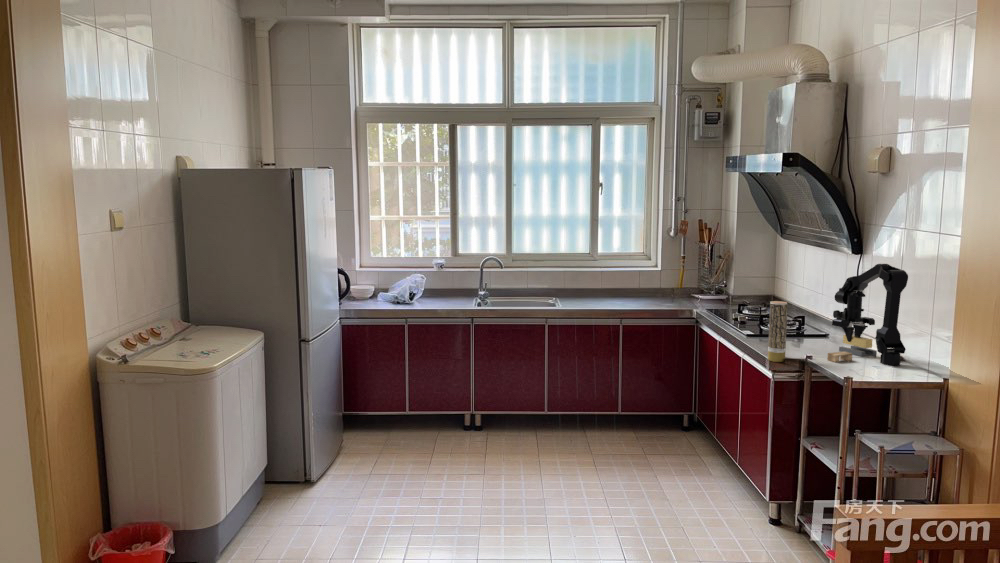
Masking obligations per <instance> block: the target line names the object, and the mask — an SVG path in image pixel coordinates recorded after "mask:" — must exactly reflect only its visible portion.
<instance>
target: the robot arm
mask: <svg viewBox="0 0 1000 563" xmlns="http://www.w3.org/2000/svg"><path fill="white" fill-rule="evenodd" d="M878 278H879V279H881V280H882V284H883V287H884V289H885V291H886V296H885V303H884V313H883V322H882V326H881V327H880V328H877V329H876V331H875V344H876V351H877V352H878V353H879V354H880V358H879V363H880V364H882V365H884V366H889V367H891V366H892V367H900V364H901V354H905V353H906V347H905V346H904V343H903V342H902V340H901V333H900V331H899V330H898V323H899V322H898V320H899V313H900V312H899V311H900V304H901V303H900V302H901V296H902V295H901V294H902V292H903V291H904V290H905V289H906V287H907V284H908V281H909V275H908V273H907V272H906V271H905V270H904V269H900V268H898V267H895V266H892V265H891V264H888V263H876V264H875V265H874V266H873V267H871V268H869V269H868V270H866V271H864V272H863V273H860V274H859V275H855V276H849V277H847V278H846V280H845V282H844V284H843V285H842V287H840V288H838V291H837V292H835V295H834V301H835V302H836V303H838V304H844V305H846V307H844V309H843V311H840V310H838V309H837V310H833V311H832V312H833V314H832V317H833V320H831V321H832V322H831V325H832V326H833V327H834V326H835V327H840V328H841V329H842V330H843V331H844V335H846V337H847V340H848V342H850V341H851V339H852V335H854V336H859V337H862V335H863V333H864V332H865V330H866V329H867V328H868V325H869V326H874V325H876V320H875V318H873V317H867V316H862V312H865V309H864V308H862V307H863V306H862V305H863V298H866V294H865V293H864V292H863V291H864V290H865V289H867V288H868V286H869V283H871V282H873V281H875V280H877V279H878ZM866 324H868V325H866Z"/></svg>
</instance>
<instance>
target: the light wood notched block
mask: <svg viewBox="0 0 1000 563" xmlns="http://www.w3.org/2000/svg"><path fill="white" fill-rule="evenodd" d="M826 358H827V359H826V360H827V362H830V363H831V362H832V363H836V364H837V363H840V361H844V362H845V361H846V362H852V361H853V355H852V353H848V352H840V351H837V352H827V357H826Z"/></svg>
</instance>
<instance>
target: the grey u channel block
mask: <svg viewBox="0 0 1000 563" xmlns="http://www.w3.org/2000/svg"><path fill="white" fill-rule="evenodd" d="M838 352H848V353H852V356H857V357H861V358H862V357H874V358H877V352H878V351H877V349H876V350H875V349H871V348H863V347H858V346H854V345H850V347H846V346H839V347H838Z"/></svg>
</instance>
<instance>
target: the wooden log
mask: <svg viewBox="0 0 1000 563" xmlns="http://www.w3.org/2000/svg"><path fill="white" fill-rule="evenodd" d="M769 302H770V303H769V320H768V321H769V323H768V344H767V345H768V346H767V360H768V361H769V362H774V363H784V362H785V359H786V350H787V348H786V346H787V327H788V302H787V301H782V300H781V301H780V300H773V301H772V300H771V301H769Z"/></svg>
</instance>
